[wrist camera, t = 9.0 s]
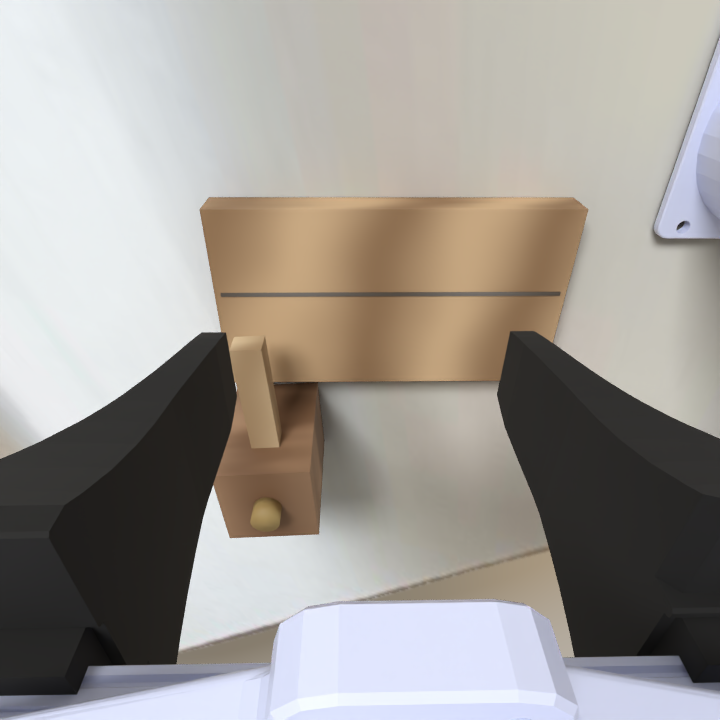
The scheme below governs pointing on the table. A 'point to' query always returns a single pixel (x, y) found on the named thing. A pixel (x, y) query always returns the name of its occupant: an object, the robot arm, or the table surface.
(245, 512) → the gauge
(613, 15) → the table surface
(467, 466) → the table surface
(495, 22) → the table surface
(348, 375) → the board
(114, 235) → the table surface
